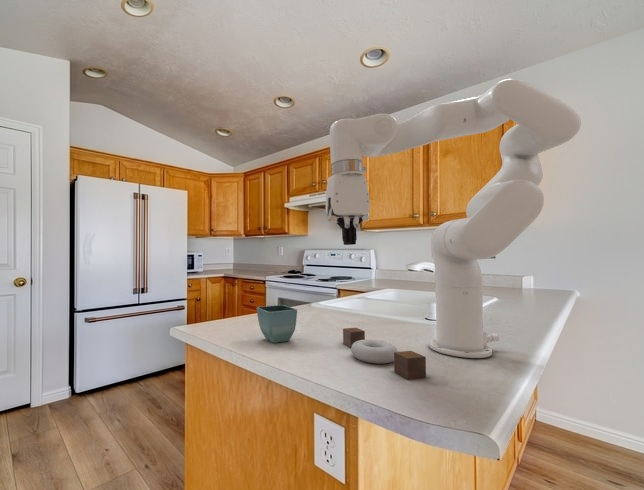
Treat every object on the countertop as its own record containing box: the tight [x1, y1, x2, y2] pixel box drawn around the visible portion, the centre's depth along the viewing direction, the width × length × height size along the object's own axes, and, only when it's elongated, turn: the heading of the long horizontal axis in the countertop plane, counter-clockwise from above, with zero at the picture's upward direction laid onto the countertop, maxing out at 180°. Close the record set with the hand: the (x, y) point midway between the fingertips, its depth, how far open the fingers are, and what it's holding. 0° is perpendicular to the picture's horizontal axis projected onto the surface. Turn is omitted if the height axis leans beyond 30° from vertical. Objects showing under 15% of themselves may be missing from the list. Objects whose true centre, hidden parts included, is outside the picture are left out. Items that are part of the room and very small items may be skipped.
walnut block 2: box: [393, 350, 427, 380], centre depth 62 cm, size 4×4×4 cm
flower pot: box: [256, 304, 298, 344], centre depth 88 cm, size 9×9×9 cm
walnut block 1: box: [342, 327, 366, 349], centre depth 83 cm, size 4×4×4 cm
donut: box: [350, 338, 399, 365], centre depth 72 cm, size 10×4×10 cm
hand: (349, 244), depth 79 cm, fingers closed
